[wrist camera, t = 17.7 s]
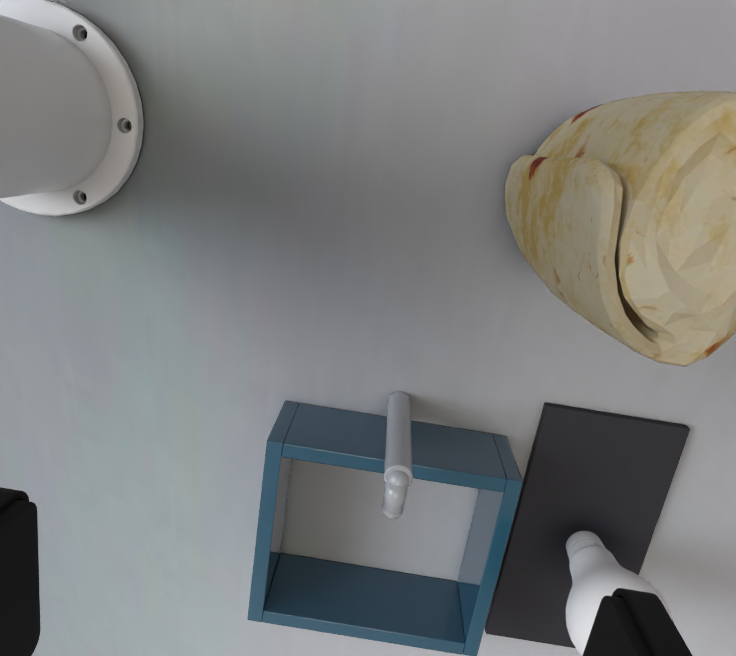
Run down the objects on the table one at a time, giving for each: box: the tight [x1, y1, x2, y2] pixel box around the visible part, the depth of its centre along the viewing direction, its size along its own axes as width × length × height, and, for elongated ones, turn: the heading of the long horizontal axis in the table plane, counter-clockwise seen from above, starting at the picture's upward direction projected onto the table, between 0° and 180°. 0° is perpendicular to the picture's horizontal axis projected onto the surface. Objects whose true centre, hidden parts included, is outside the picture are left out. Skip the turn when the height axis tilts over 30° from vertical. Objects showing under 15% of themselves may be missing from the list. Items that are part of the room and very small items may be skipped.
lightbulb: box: [566, 531, 674, 656], centre depth 38 cm, size 6×6×11 cm
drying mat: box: [485, 403, 690, 648], centre depth 44 cm, size 10×20×1 cm, turn 171°
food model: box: [505, 91, 736, 366], centre depth 27 cm, size 10×7×20 cm
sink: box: [248, 392, 523, 656], centre depth 39 cm, size 16×16×11 cm
